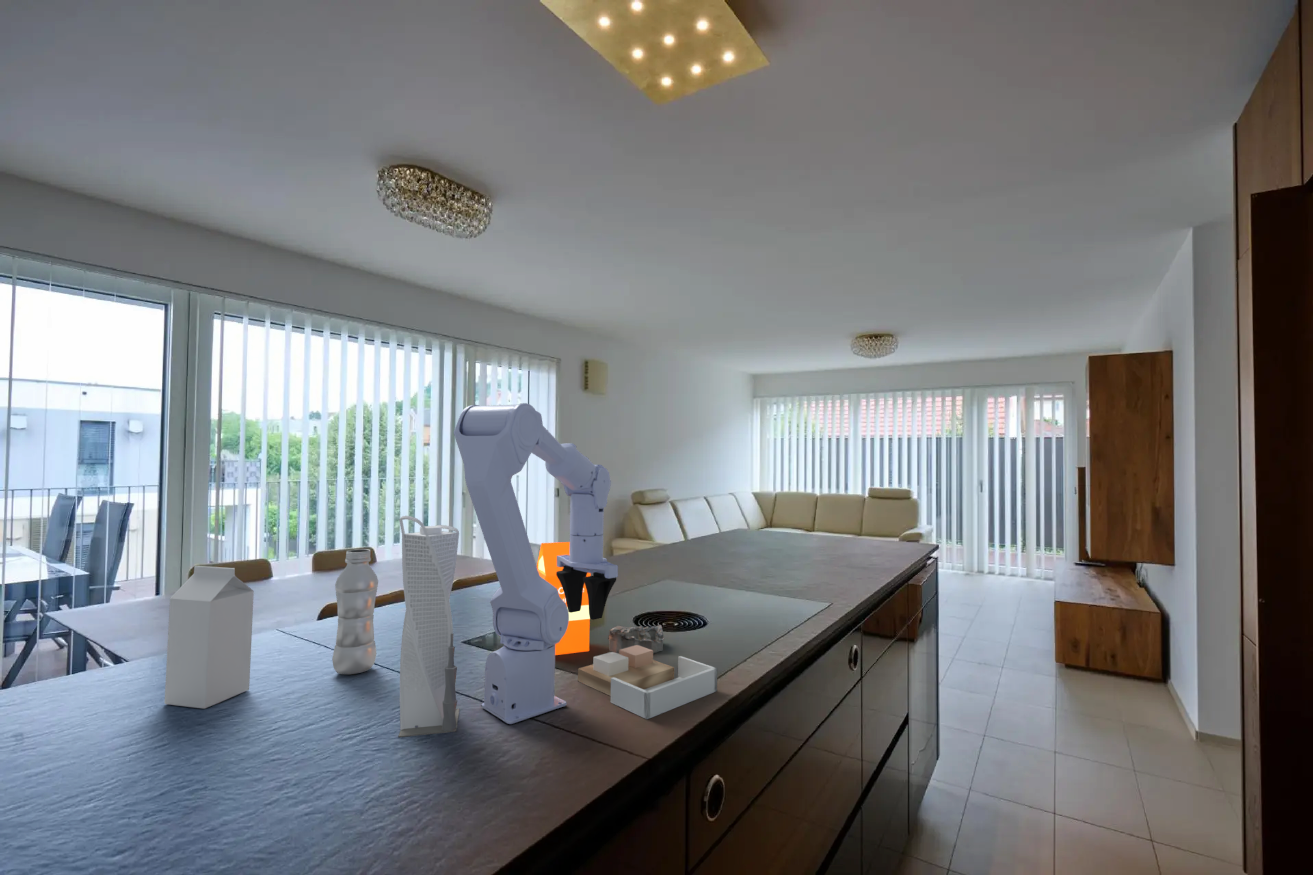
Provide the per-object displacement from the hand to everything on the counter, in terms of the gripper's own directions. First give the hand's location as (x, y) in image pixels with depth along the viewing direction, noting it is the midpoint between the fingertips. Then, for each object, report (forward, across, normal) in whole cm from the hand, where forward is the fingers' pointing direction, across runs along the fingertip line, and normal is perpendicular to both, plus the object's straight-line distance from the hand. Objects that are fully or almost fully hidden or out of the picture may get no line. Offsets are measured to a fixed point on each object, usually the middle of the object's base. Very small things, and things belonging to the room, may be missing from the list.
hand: (585, 614), depth 99 cm
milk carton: (+10, +28, +48) cm, 56 cm away
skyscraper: (+10, -1, +28) cm, 29 cm away
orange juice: (+10, +13, -4) cm, 17 cm away
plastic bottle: (+10, +25, +28) cm, 39 cm away
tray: (+9, -17, -2) cm, 19 cm away
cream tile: (+7, -7, 0) cm, 10 cm away
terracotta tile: (+7, -7, -6) cm, 12 cm away
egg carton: (+10, +4, -16) cm, 19 cm away
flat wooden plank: (+9, -8, -2) cm, 13 cm away
